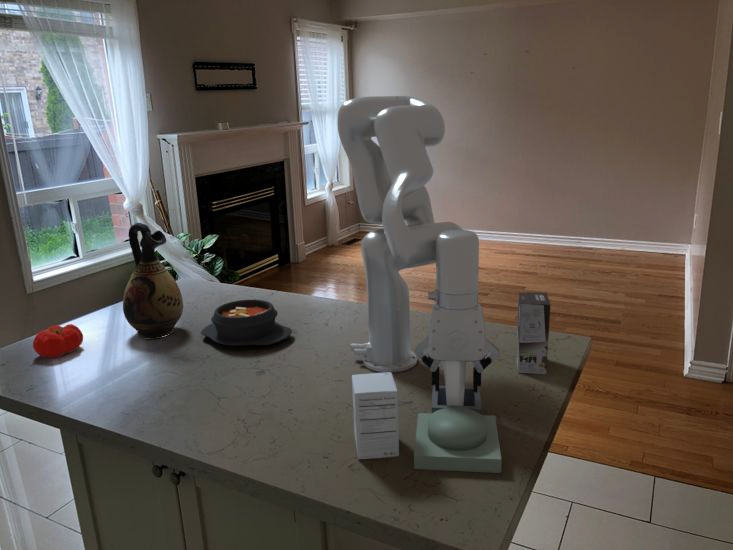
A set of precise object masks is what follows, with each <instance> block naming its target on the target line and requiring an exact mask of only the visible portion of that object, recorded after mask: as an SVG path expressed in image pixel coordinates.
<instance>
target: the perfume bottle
mask: <svg viewBox="0 0 733 550" xmlns="http://www.w3.org/2000/svg"><path fill="white" fill-rule="evenodd" d="M442 362H443V372H444V386H445V387H446V399H447V405H450V406H463V405H464V389H465V385H466V373H467V372H466V370H467V362H464V361H442Z"/></svg>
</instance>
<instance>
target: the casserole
mask: <svg viewBox="0 0 733 550" xmlns="http://www.w3.org/2000/svg"><path fill="white" fill-rule="evenodd" d="M278 314H279V313H278V310H276V309H275V307H274V305H273V303H272V302H270V301H267V300H262V299H241V300H234V301H229V302H227V303H223V304H222V305H219V306H218V307H217V308H215V310H214V313H213V315H212V317H211V323H210V324H208V325H206V326H205V327H204V328H203V329H202V330H201V331H200V334H201V335H202V336H205V337H208V339H210V340H211V341H212V342H215V343H217V344H221V345H224V346H232V347H233V346H234V347H235V346H236V347H245V346H252V345H253V346H254V345H255V346H267V345H269V346H270V345H273V344H276V343H279V342H281V341H283V340H286V339H287V338H289V337H290V336H291V334H292V333H293V330H292V328H290V327H287V326H285V325H282V324H280V323H279V322H277V321H276V318H277V317H278Z"/></svg>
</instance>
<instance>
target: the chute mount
mask: <svg viewBox="0 0 733 550" xmlns="http://www.w3.org/2000/svg"><path fill="white" fill-rule="evenodd" d="M431 393H432V395H431V396H432V397H431V413H426V412H425V413H424V412H418V413H417V421H416V433H415V439H414V440H415V442H414V443H415V444H414V451H413V469H414V470H430V471H432V470H433V471H449V472H451V471H452V472H469V473H470V472H474V473H491V474H493V473H494V474H502V453H501V446H500V441H499V434H498V426H497V418H496V415H486V414H485V415H483V414H482V410H483V409H482V401H481V392H480V386H478V389H477V392H474V391H473V386H470V385H469V386H467V385H466V386H465V389H464V405H463V406H450V405H447V399H446V387H445V385H439V391H435V385H432V392H431Z"/></svg>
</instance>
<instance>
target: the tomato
mask: <svg viewBox="0 0 733 550" xmlns="http://www.w3.org/2000/svg"><path fill="white" fill-rule="evenodd" d="M83 342H84V335H83V333H82V330H81V329H80V328H79V327H77V326H76V325H74V324H72V323H70V324H66V325H65V326H63V327H62V326H61V325H52V326H49V327H48V328H47V329H44V330H41V331H39V332H38V333H37V334H36V335H35V337H34V339H33V342H32V347H33V349H34V351H35V353H37V355H39V356H40V357H43V358H47V359H55V358H58V357H61V356H62V355H64V354H69V353H72V352H73V351H75V350H77V349H78V348H80V346H81V345H83Z"/></svg>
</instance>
